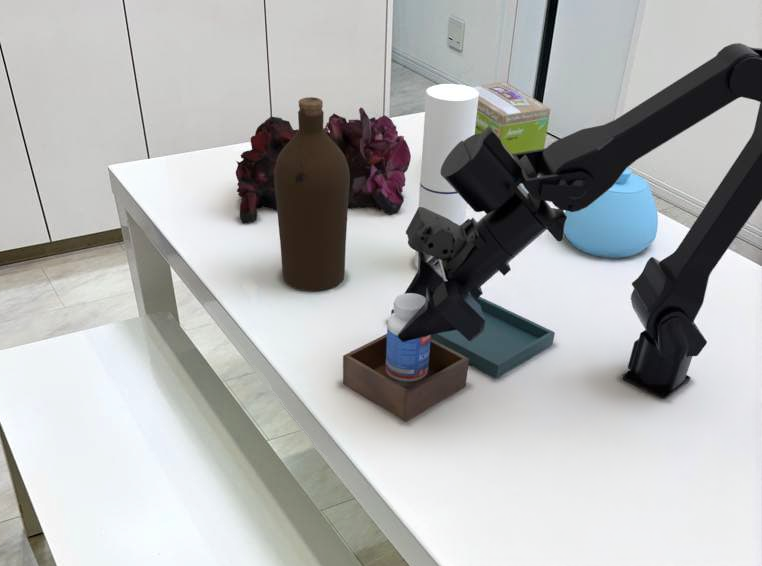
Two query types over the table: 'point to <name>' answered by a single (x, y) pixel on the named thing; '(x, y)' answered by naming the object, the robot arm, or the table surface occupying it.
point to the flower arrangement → (360, 147)
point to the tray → (499, 340)
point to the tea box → (512, 117)
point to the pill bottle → (406, 342)
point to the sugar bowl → (616, 220)
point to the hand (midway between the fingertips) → (397, 326)
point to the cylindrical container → (445, 146)
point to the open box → (398, 397)
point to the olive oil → (312, 204)
